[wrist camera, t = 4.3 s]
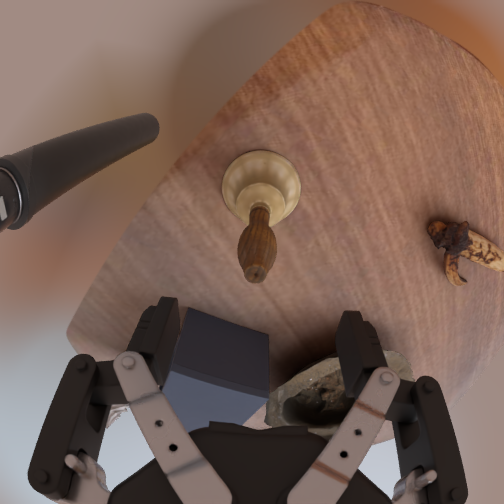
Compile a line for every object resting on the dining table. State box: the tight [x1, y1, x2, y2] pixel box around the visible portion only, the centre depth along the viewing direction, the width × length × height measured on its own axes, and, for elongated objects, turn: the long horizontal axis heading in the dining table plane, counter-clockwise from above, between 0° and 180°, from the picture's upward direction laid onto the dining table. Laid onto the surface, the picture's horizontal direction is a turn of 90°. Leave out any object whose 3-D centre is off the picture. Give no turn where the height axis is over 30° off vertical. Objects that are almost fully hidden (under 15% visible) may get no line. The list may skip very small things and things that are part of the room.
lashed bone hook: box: [427, 221, 504, 286], centre depth 32 cm, size 9×5×18 cm
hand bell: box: [222, 150, 301, 284], centre depth 24 cm, size 8×8×16 cm
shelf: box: [159, 308, 269, 432], centre depth 39 cm, size 12×16×11 cm
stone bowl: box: [264, 349, 415, 441], centre depth 43 cm, size 25×25×9 cm
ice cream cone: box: [106, 404, 130, 428], centre depth 39 cm, size 5×5×15 cm
